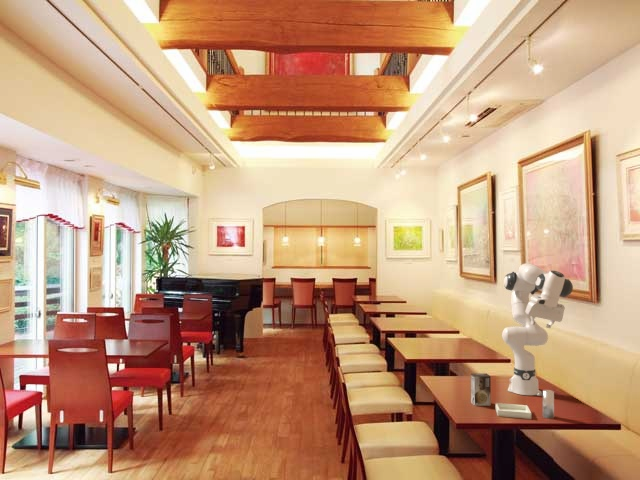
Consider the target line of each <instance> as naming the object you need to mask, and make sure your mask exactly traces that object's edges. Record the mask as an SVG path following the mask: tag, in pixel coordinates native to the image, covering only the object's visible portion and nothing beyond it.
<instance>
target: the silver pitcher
mask: <svg viewBox="0 0 640 480" xmlns="http://www.w3.org/2000/svg"><path fill="white" fill-rule="evenodd" d="M535 396H539V397H542V417H543V418H545V419H551V420H552V419H554V418H555V391H554V390H551V389H543V390H542V392H541V393H537V394H536V395H535Z"/></svg>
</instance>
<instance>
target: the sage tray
mask: <svg viewBox="0 0 640 480" xmlns="http://www.w3.org/2000/svg"><path fill="white" fill-rule="evenodd" d="M494 409H495V411H496V412H495V413H496V415H497V417H501V418H502V417H505V418H514V419H515V418H516V419H524V420H525V419H526V420H532V412H531V410H530V408H529V406H528V405H527V404H525V405H524V404H516V403H515V404H513V403H504V402H495V403H494Z"/></svg>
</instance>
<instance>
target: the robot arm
mask: <svg viewBox="0 0 640 480" xmlns="http://www.w3.org/2000/svg"><path fill="white" fill-rule="evenodd" d="M503 287H504V289H506V290H508V291H512V292H511V294H510V307H511V309H510V310H511V314H512V319H513V320H514V322H516V323H518V324H520V325H521V326H518V325H517V326H516V325H515V326H507V327H504V329H503V331H502V332H501V339H502V340H503V342H504V343H505V344H506V345H507V346H509V347H510V349H511V350H512V352H513V356H514V367H513V375H512V377H511V378H510V377H509V384H508V388H507V392H510V393H514V394H517V395H521V396H537V395H536V394H537V393H542V391H541V390H539V379H538V378H537V377H536V369H535V367H536V366H535V365H536V364H535V363H536V361H535V356H534V354H533V353H532V352H530V351H528V350H527V349H526V348H525V346H531V347H532V346H533V347H534V346H535V347H537V346H544V345H546V343H547V342H548V339H549V335H548V332H547V331H546V329H544V327H541V326H540V325H539V324H538V323H537V322H536V321H535V319H536V318H538V319H543V320H548V321H549V323H547V324H546V326H545V328H547V329H551V327H552V326H553V325H554V324H555V322H558V323H561V322H562V321H563V319H564V312H565V309H566V308H565V306H564V304H560V303H559V301H560V297H561V298H566V297H568V296H570V295H571V293H572V292H573V289H574V286H573V283H572V282H571V280H570V279H569V278H565V275H564V274H563V273H562V272H560V271H557V270H550V271H548V272H547V271H545V270H544V269H542V268H540V267H539V266H537V265H535V264H533V263H527V262H525V263H522V264H521V265H520V266H519V267H518V271H517V272H515V271H511V272H510V273H507V274H506V275H504V278H503ZM539 291H540V292H541V294H539V295H534V294H536V293H537V292H539ZM530 294H531V295H532V296H531V297H530Z"/></svg>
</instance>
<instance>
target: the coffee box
mask: <svg viewBox="0 0 640 480" xmlns="http://www.w3.org/2000/svg"><path fill="white" fill-rule="evenodd" d="M491 380H492V379H491V375H489V373H485V372H482V373H471V374H470V402H471V404H472V405H473V406H474V407H475V406H477V407H478V406H480V407H481V406H485V407H486V406H492V405H491V404H492V403H491V402H492V397H491V396H492V393H491V392H492V390H491V386H492V385H491V383H492V382H491Z"/></svg>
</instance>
